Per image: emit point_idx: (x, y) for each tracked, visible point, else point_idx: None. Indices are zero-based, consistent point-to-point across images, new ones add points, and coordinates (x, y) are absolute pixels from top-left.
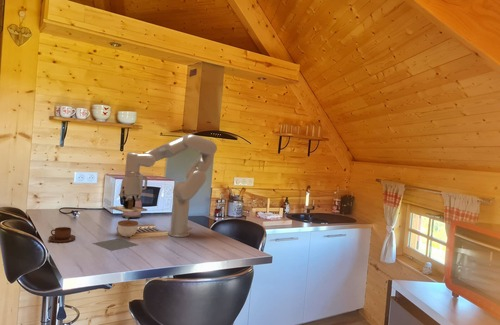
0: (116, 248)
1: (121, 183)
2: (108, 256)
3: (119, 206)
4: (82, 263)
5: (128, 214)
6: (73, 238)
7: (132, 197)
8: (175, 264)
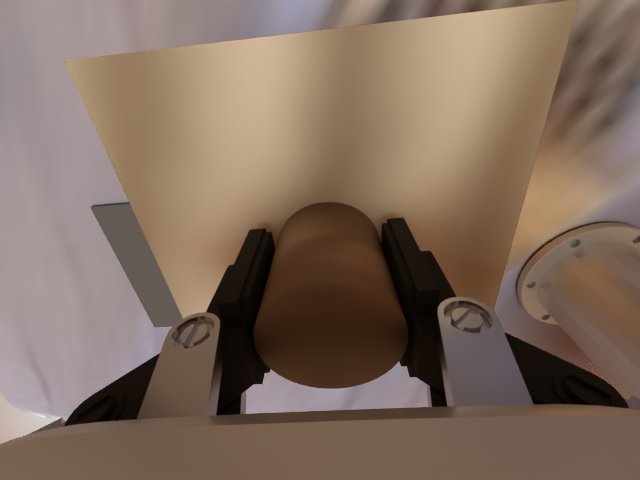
0: (180, 314)
1: None
2: (134, 353)
3: (253, 72)
4: (47, 362)
5: None
6: None
7: (444, 357)
8: None
